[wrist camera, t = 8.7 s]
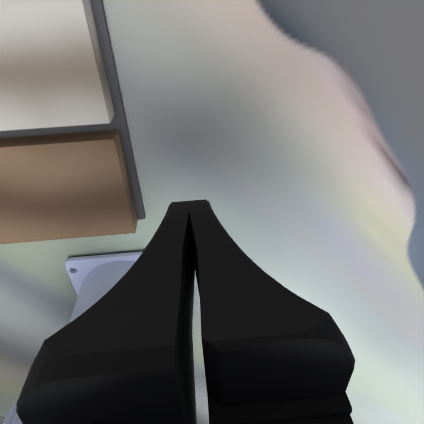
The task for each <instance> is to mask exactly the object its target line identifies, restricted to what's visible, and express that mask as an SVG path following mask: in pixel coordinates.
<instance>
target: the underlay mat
mask: <svg viewBox="0 0 424 424" xmlns="http://www.w3.org/2000/svg"><path fill="white" fill-rule="evenodd" d="M90 3H91V8H92V12H93V17H94V21H95V26H96V31H97V35H98V40H99V44H100V49H101V54H102V58H103V63H104V67H105V72H106V76H107V81H108V86H109V90H110V95H111V99H112V104H113V109H114V113H115V115H114V117H113V118H112V120H111V122H110V123H106V124H92V125H77V126H63V127H49V128H35V129H21V130H7V131H0V138H7V137H21V136H35V135H49V134H63V133H76V132H90V131H104V130H118V132H119V136H120V141H121V145H122V150H123V154H124V159H125V164H126V168H127V173H128V177H129V182H130V187H131V191H132V196H133V200H134V205H135V209H136V214H137V219H145V213H144V208H143V203H142V198H141V193H140V188H139V183H138V178H137V173H136V168H135V163H134V158H133V153H132V148H131V143H130V138H129V133H128V128H127V123H126V118H125V113H124V108H123V103H122V98H121V93H120V88H119V83H118V78H117V73H116V68H115V63H114V58H113V53H112V48H111V43H110V38H109V33H108V28H107V23H106V18H105V13H104V8H103V3H102V0H90Z"/></svg>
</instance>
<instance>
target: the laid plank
mask: <svg viewBox="0 0 424 424" xmlns="http://www.w3.org/2000/svg"><path fill="white" fill-rule="evenodd" d="M137 220H138V219H137V214H136V209H135V205H134V200H133V196H132V191H131V187H130V182H129V177H128V173H127V168H126V164H125V159H124V154H123V150H122V145H121V141H120V136H119V132H118V130H104V131H90V132H76V133H63V134H49V135H35V136H21V137H7V138H0V244H8V243H19V242H31V241H43V240H55V239H67V238H79V237H91V236H102V235H114V234H126V233H135V231H136V226H137Z"/></svg>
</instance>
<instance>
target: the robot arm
mask: <svg viewBox="0 0 424 424" xmlns="http://www.w3.org/2000/svg"><path fill="white" fill-rule="evenodd" d="M65 268H66V270H67V273H68V275H69V277H70V280H71V282H72V284H73V287H74V289H75V292H76V294H77V296H78V297H77V300H76V303H75V306H74V309H73V312H72V315H71V318H70V321H69V324H68V325H66V326H65V327H63V328H62V329H60V330H59V331H58V332H56V333H55V334H53V335H52V336H51V337H49V338H48V339H46V340H45V341H44V342H43V345H42V347H41V349H40V350H39V352H38V354H37V356H36V358H35V360H34V362H33V364H32V366H31V368H30V371H29V373H28V376H27V378H26V381H25V384H24V386H23V389H22V391H21V394H20V396H19V399H18V401H17V403H16V404H14V405H13V406H12V407H11V409H10V410H9V412H8V414H7V415H6V417H5V419H4V421H3V424H197V420H196V401H195V382H194V361H193V340H192V318H193V298H194V278H195V272H196V278H197V284H198V290H199V296H200V309H201V336H202V347H203V357H204V366H205V375H206V385H207V394H208V409H209V424H353V421H352V418H351V416H350V414H351V412H352V407H351V404H350V402H349V399H348V397H347V394H346V392H345V391H346V389H347V386H348V383H349V381H350V378H351V375H352V373H353V370H354V364H355V359H354V356H353V354H352V351H351V349H350V347H349V345H348V343H347V341H346V339H345V337H344V335H343V334H342V332H341V331H340V329H339V328H338V326H337V324H336V323H335V321H334V320H333V318H332V317H331V315H330V314H329V313H328V312H326V311H324V310H322V309H320V308H319V307H317V306H315V305H313V304H311V303H310V302H308V301H306V300H304V299H302V298H301V297H299V296H297V295H296V294H294V293H293V292H291V291H290V290H288V289H287V288H285V287H284V286H282V285H281V284H280V283H278V282H277V281H276V280H274V279H273V278H272V277H270V276H269V275H268V274H267V273H265V272H264V271H263V270H262V269H261V268H260V267H258V266H257V265H256V264H255V263H254V262H253V261H252V260H251V259H250V258H249V257H248V256H247V255H246V254H245V253H244V252H243V251H242V250H241V249H240V248H239V247H238V245H237V244H236V243H235V242H234V241H233V239H232V238H231V237H230V236H229V234H228V233H227V232H226V230H225V229H224V228H223V226H222V225H221V223H220V222H219V220H218V219H217V217H216V215H215V214H214V212H213V210H212V208H211V206H210V203H209V202H208V201H207V200H194V201H182V202H172V203H171V204H170V205H169V207H168V210H167V212H166V214H165V216H164V218H163V220H162V222H161V224H160V226H159V228H158V229H157V231H156V233H155V234H154V236H153V238H152V239H151V241H150V242H149V244H148V245H147V247H146V248H145V250H144V251H142V252H130V253H119V254H107V255H96V256H84V257H72V258H68V259H66V262H65ZM72 268H75V269H72Z"/></svg>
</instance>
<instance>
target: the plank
mask: <svg viewBox="0 0 424 424" xmlns="http://www.w3.org/2000/svg"><path fill="white" fill-rule="evenodd" d="M114 115H115V113H114V109H113V104H112V99H111V95H110V90H109V86H108V81H107V76H106V72H105V67H104V63H103V58H102V54H101V49H100V44H99V40H98V35H97V31H96V26H95V21H94V17H93V12H92V8H91V3H90V0H0V131H7V130H21V129H35V128H49V127H63V126H77V125H92V124H106V123H110V122H111V120H112V118H113V117H114Z"/></svg>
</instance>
